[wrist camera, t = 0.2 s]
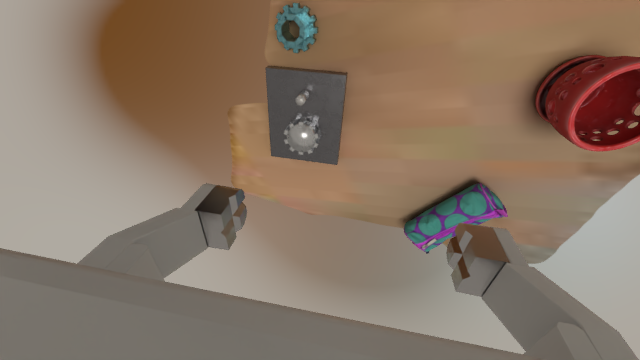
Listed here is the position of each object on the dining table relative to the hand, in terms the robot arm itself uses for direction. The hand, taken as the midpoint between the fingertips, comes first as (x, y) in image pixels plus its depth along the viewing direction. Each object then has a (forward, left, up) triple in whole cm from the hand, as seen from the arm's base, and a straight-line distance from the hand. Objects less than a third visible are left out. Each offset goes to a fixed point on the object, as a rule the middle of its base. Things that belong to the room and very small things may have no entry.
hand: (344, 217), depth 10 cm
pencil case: (+34, +24, -48) cm, 63 cm away
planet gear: (-2, -14, -47) cm, 49 cm away
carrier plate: (+15, -12, -47) cm, 51 cm away
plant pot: (+4, +36, -47) cm, 60 cm away
